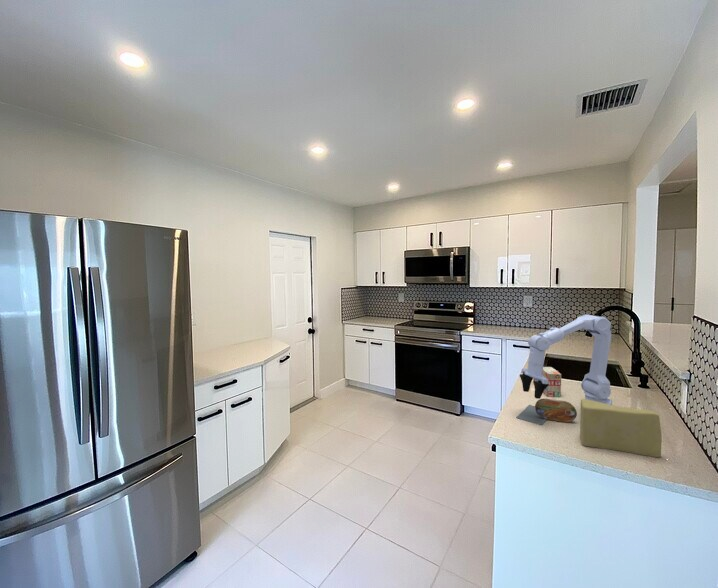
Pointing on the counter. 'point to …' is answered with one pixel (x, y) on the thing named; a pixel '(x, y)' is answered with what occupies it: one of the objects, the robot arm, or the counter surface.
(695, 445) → the counter surface
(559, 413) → the tin
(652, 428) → the cheese
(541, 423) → the mat
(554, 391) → the printed cardboard box
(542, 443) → the counter surface
